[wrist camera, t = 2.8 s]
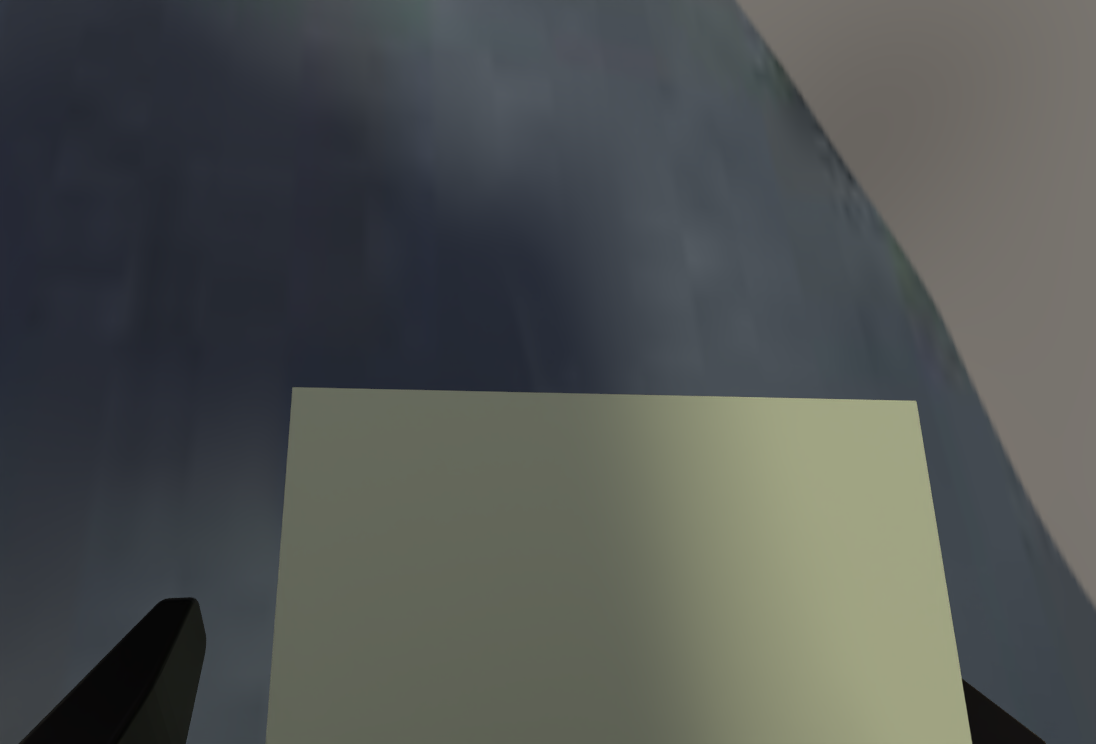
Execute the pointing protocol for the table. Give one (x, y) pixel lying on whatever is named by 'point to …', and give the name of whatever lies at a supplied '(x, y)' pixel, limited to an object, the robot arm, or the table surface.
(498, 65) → the table surface
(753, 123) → the table surface
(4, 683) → the table surface
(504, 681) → the sage pillar
